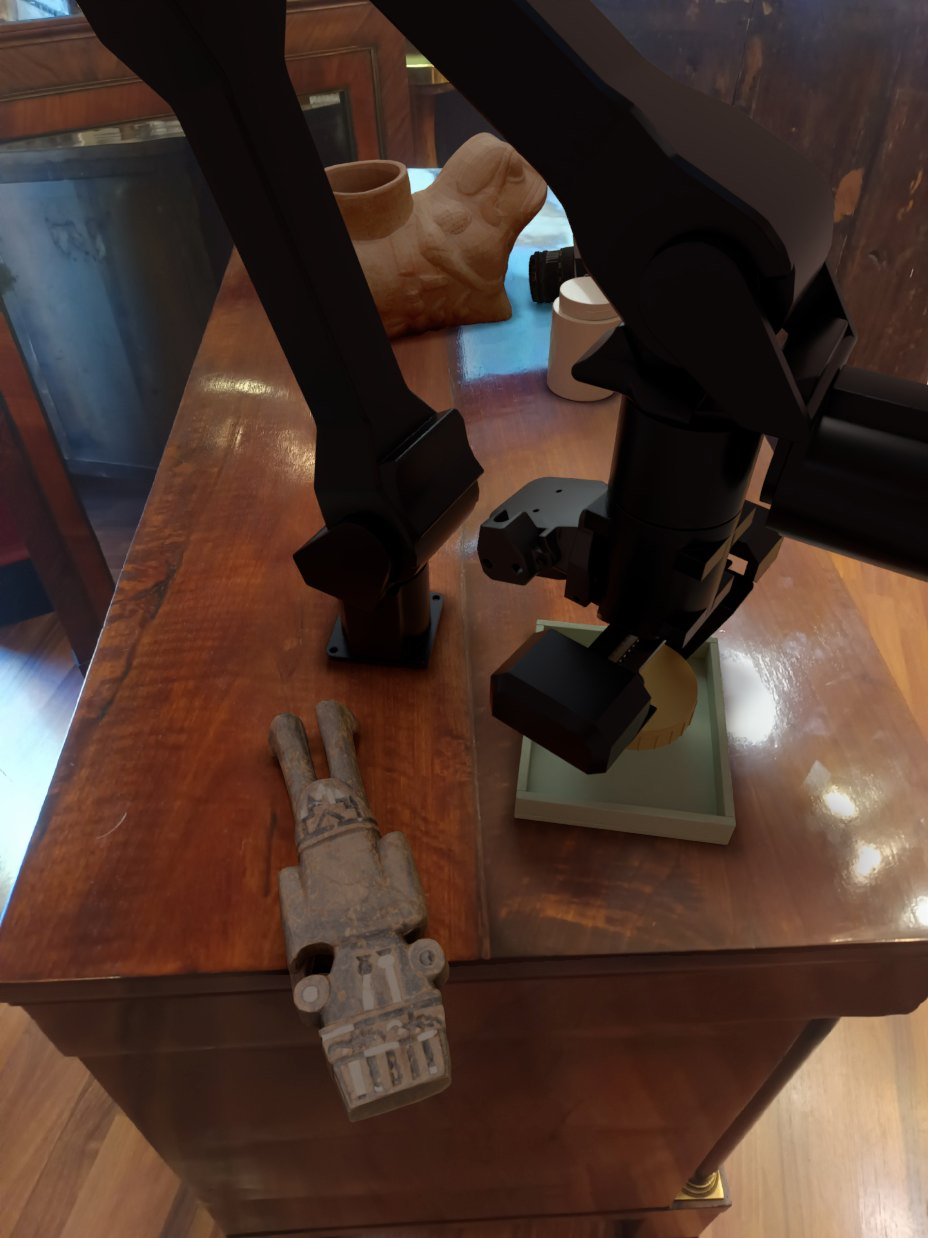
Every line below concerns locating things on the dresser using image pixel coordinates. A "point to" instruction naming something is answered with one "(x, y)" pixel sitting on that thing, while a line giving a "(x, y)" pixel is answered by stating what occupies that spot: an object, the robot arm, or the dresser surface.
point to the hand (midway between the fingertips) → (624, 715)
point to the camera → (553, 272)
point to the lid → (667, 699)
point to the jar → (577, 336)
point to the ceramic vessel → (439, 234)
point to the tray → (642, 770)
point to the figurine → (358, 929)
